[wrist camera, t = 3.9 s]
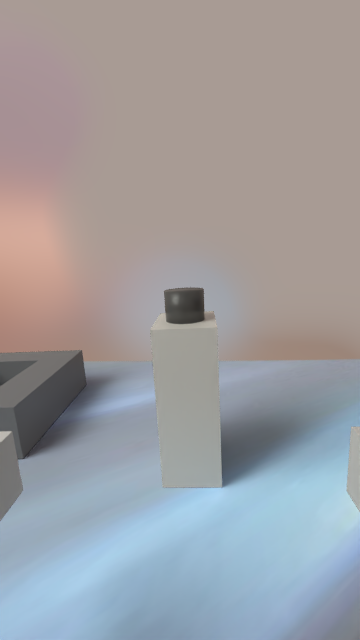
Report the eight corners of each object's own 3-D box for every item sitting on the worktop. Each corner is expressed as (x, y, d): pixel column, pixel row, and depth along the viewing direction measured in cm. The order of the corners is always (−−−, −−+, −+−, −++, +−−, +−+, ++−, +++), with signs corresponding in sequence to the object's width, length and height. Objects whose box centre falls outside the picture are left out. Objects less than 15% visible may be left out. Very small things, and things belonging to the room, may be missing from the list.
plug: (217, 442, 25) (212, 284, 22) (222, 487, 20) (216, 293, 18) (169, 442, 26) (158, 287, 23) (162, 487, 21) (147, 296, 18)
